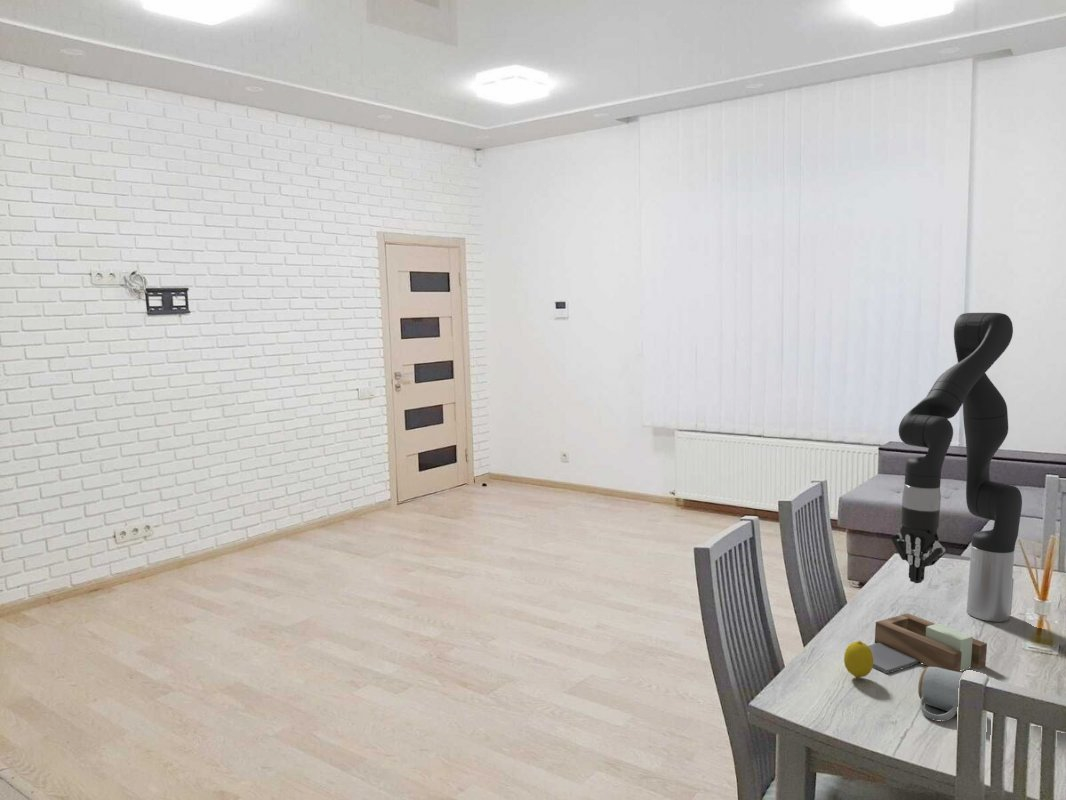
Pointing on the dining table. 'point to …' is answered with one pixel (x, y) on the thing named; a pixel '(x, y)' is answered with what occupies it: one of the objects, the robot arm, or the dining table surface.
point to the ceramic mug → (939, 691)
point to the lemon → (858, 659)
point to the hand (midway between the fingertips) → (915, 581)
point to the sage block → (952, 641)
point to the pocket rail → (924, 643)
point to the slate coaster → (889, 658)
